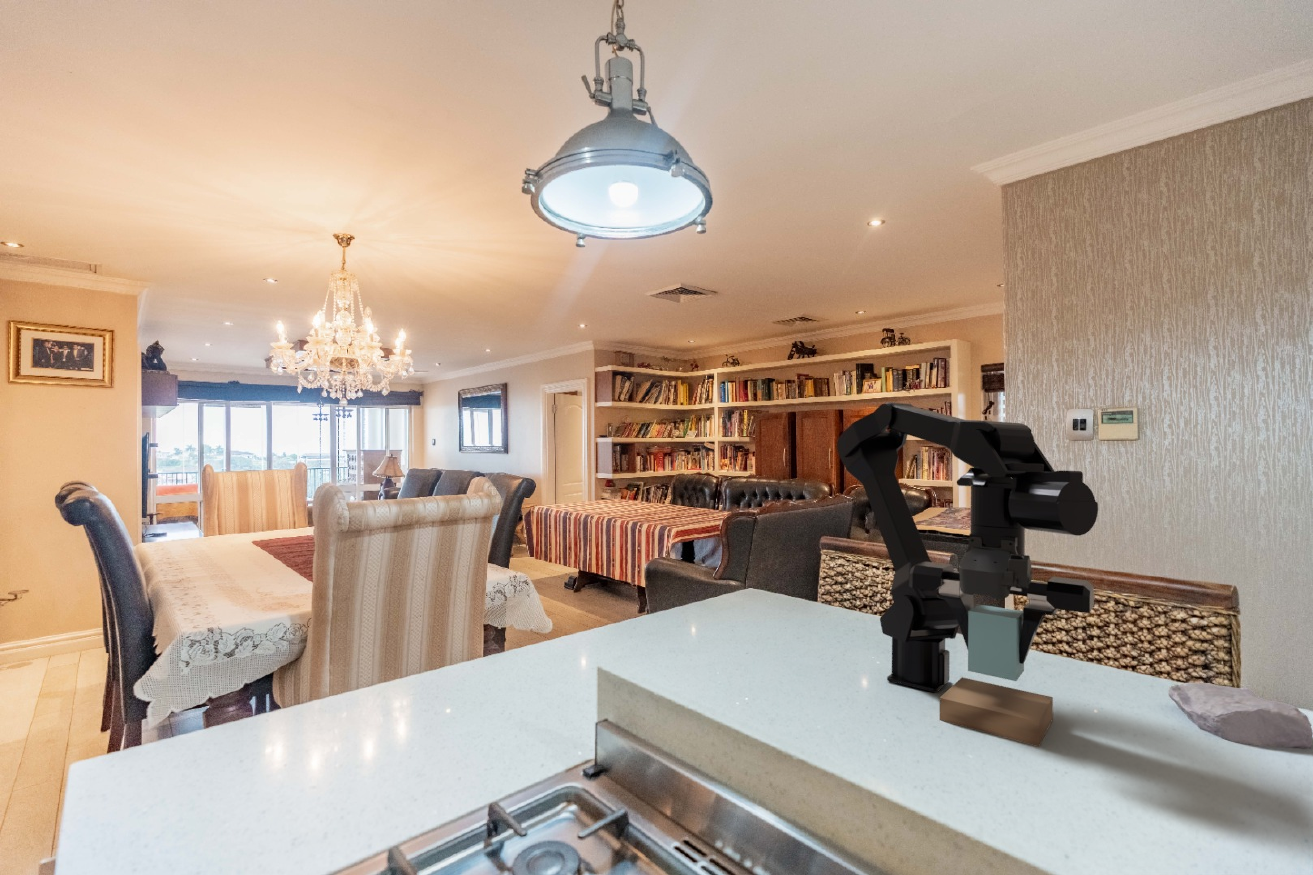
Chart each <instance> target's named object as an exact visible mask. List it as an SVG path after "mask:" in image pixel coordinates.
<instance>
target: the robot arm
mask: <svg viewBox="0 0 1313 875" xmlns="http://www.w3.org/2000/svg"><path fill="white" fill-rule="evenodd" d="M908 436H911V437H914V438H917V439H920V440H923V441H927V442H929V443H933V444H936V445H939V446H942V447H945V448H946V449H948V450H950V451H951V454H952V455H953V456H954V458H956V459H959V460H960V461H961V462H963V463H965V464H967V465H969V466H970V468H968V471H967V472H966V473H965V474H963V475H961V476H960V478H958V479H957V480H956V484H957V486H959V487H960V486H961V487H970V533H969V538H968V546H967V549H966V552H965V553H964V555H963V556H962V558H961V560H960V562H959V564H958V571H955V569H954V565H953V564H950V563H943V562H942V563H940V562H934V561H933V560H931V558H930V556H929V553H928V551H927V549H926V546H925V544H924V541H923V539H922V537H921V534H920V532H919V529H918V527H917V525H916V522H915V520H914V517H913V515H912V512H911V509H910V507H909V505H908V503H907V502H908V501H907V500H906V498H905V496H904V493H903V490H902V489H901V486H900V482H899V481H898V478H897V476H896V469H897V466H898V461H899V454H898V451H900V449H902V448H903V446H905V444H906V443H907V437H908ZM836 449H837V453H838V457H839V458H840V460H841V462H842V464H843V466H844V467H845V469H846V471H847V472H848V473H849V474H850V475H851V476H852V477H854V478H855V479H856V480H857V481H858V482H860V483H861V485H862V486H863V489H864V492H865V495H866V497H867V499H868V502H869V505H870V507H871V510H872V513H873V515H874V518H875V519H874V520H875V521H876V523H877V526H878V530H879V531H880V534H881V538H882V539H883V542H884V545H885V548H886V550H887V553H888V555H889V558H890V561H891V563H892V566H893V569H894V573H893V574H894V575H893V580H892V584H891V587H890V588H891V589H890V593H891V597H892V604H891V605H890V606H889V607H888V608H887V609H886V611H885V612H884V613H883V614H882V615H881V616H880V618H879V621H880V626H881V631H882V632H881V633H882V634H883V635H885V636H888V637H890V638H891V674H889V675H887V677H886V680H887V681H888V682H891V683H896V684H898V685H903V686H908V687H910V688H911V687H912V688H915V689H920V690H924V691H929V692H931V693H932V692H933V693H937V692H939V691H940V690H941V689H942V688H943V687H944V686H945V685H946V684H947V683H949V681H950V657H951V656H950V653H951V652H950V651H949V650H948V649H946V639H950V640H953V639H956V638H957V634H958V631H959V628H960V631H961V635H962V638H963V641H964V644H965V646H966V649H967V650H968V611H969V610H971V609H972V608H974V607H975V606H974V605H975V602H974V601H975V600H974V595H980V596H987V597H991V598H993V599H997V600H1000V599H1002V600H1003V599H1006V598H1008V597H1009V596H1010V595H1013V596H1021V597H1026V600H1027V601H1029V602H1027V603H1026V604H1025V605H1024V606H1023V607H1022V611H1023V625H1022V632H1021V640H1020V647H1019V662H1020V663H1021V664H1024V665H1025V662H1026V660H1027V657H1028V655H1029V651H1030V649H1031V647H1032V644H1033V642H1034V640H1035V637H1036V634H1037V632H1038V629H1039V627H1040V625H1041V624H1042V623H1043V620H1044V619H1045V617H1046V616H1055V615H1056V614H1057V613H1058V611H1059V610H1061V611H1062V610H1063V611H1070V612H1076V613H1084V614H1086V613H1087V614H1089V613H1091V611H1092V610H1093V607H1094V606H1095V590H1094V589H1095V587H1094V585H1093V584H1091V583H1090V581H1089V580H1085V579H1077V578H1069V577H1061V576H1052V577H1050V578H1049V580H1047V582H1041V581H1035V580H1033V579H1032V577H1033V574H1032V573H1033V572H1032V571H1033V570H1032V563H1031V557H1030V555H1026V554H1025V550H1026V549H1025V546H1026V542H1025V540H1026V534H1025V533H1026V529H1027V530H1029V531H1035V532H1037V531H1038V532H1047V533H1053V534H1062V535H1068V536H1069V535H1070V536H1077V537H1078V536H1083V535H1086V534H1087V533H1088V532H1090V531H1091V530H1092V529H1093V527H1094V525H1095V523H1096V522H1097V518H1098V513H1099V504H1098V501H1096V499H1095V495H1094V493H1093V491H1092V490H1091V488H1090V487H1089V485H1087V484H1086V483H1085V482H1084V473H1083V471H1080V470H1056V471H1055V469H1054V467H1052V465H1051V463H1050V462H1049V461H1048V459H1047V458H1046V456H1045V455H1044V453H1043V451H1042V450H1041V449H1040V448H1039V446H1038V444H1037V443H1036V441H1035V437H1034V435H1033V433H1032V429H1031V427H1029V426H1028V425H1026V424H1024V423H1021V422H1012V421H1011V422H1008V421H997V420H996V421H994V420H979V419H978V420H976V419H975V420H973V419H972V420H970V419H964V418H960V417H956V416H953V415H952V416H951V415H948V414H944V413H940V412H936V411H933V410H928V409H924V408H920V407H917V406H914V405H912V404H911V403H905V402H904V403H903V402H902V403H901V402H885V403H882V404H880V405H879V406H878V407H877V408H876V409H875V410H874V411H873V412H870V413H869V414H867V415H865V416H864V417H861V418H859V419H857V420H855V421H853V422H852V423H851V424H850V425H849V426H848V427H847V428H845V430H843V432H842V434H840V436H838V439H837V442H836Z"/></svg>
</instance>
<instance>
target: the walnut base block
mask: <svg viewBox="0 0 1313 875" xmlns="http://www.w3.org/2000/svg"><path fill="white" fill-rule="evenodd" d="M1053 701H1054V700H1053V697H1052V696H1049V695H1044V694H1041V693H1040V694H1039V693H1035V692H1031V691H1027V690H1021V689H1017V688H1013V687H1009V686H1004V685H999V684H994V683H990V682H985V681H981V680H976V679H971V678H966V677H963V676H961V677H960V679H959V680H957V681H956V682H955V683H954V684H953V685H952V686H951V687H949V689H947V690H946V691H945V692H944V693H943V694H942V695H941V696H939V720H938V721H941V722H945V723H950V724H953V725H956V726H959V727H960V726H961V727H965V728H968V729H972V730H975V731H979V732H982V733H987V734H989V735H990V734H991V735H994V736H997V737H1001V738H1006V739H1009V740H1014V741H1016V742H1021V743H1025V744H1028V745H1030V746H1031V745H1032V746H1034V747H1035V746H1036V747H1038V748H1039V747H1040V745H1041V744H1042V742H1043V739H1044V737H1045V735H1046V733H1047V731H1048V729H1049V727H1050V726H1051V723H1052V721H1053V720H1054V717H1053V716H1054V713H1053V712H1054V711H1053V708H1054V706H1053V705H1054V704H1053V703H1054V702H1053Z"/></svg>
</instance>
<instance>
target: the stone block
mask: <svg viewBox="0 0 1313 875" xmlns="http://www.w3.org/2000/svg"><path fill="white" fill-rule="evenodd" d="M1167 695H1168V697H1169V698H1170V700H1172V701H1174V703H1175V705H1176V706H1177V707H1178V708H1179V709H1180V710H1181V711H1182V713H1183V714H1184V715H1186V717H1187V718H1188V719H1189V721H1191V722H1192V723H1193V724H1194V725H1195V726H1197V728H1198V729H1199V730H1201V731H1204V732H1207V733H1209V734H1211V735H1213V736H1215V737H1218V738H1221V739H1223V740H1227V741H1230V742H1233V743H1240V744H1246V745H1254V746H1262V747H1263V746H1264V747H1265V746H1266V747H1267V746H1269V747H1284V748H1291V749H1293V748H1299V749H1307V750H1308V749H1311V748H1312V746H1313V740H1312V739H1313V729H1312V723H1311V722H1310V721H1309V720H1310V719H1309V717H1308V715H1307V714H1305V713H1304V712H1302V711H1301V710H1300V709H1299V708H1298V707H1296V706H1294V705H1291V704H1288V703H1284V702H1281V701H1274V700H1269V699H1264V698H1262V697H1260V696H1258V694H1256V693H1255V692H1254V691H1253V690H1252V689H1251V688H1249V687H1243V686H1242V687H1233V686H1229V685H1228V686H1227V685H1225V686H1223V685H1220V684H1218V685H1217V684H1214V683H1209V682H1207V683H1206V682H1192V681H1190V682H1185V683H1181V684H1174V685H1171V686H1169V688H1168V694H1167Z"/></svg>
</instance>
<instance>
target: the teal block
mask: <svg viewBox="0 0 1313 875" xmlns="http://www.w3.org/2000/svg"><path fill="white" fill-rule="evenodd" d="M1022 625H1023V610H1017V609H1010V608H1005V607H1004V608H1003V607H998V606H991V605H984V604H976V605H975V606H974V608H972V609H971V610H969V611H968V649H967V671H968V672H970V673H971V672H972V673H976V674H977V673H978V674H980V675H985V676H990V677H994V678H999V679H1004V680H1008V681H1013V682H1017V681H1018V680H1019V678H1020V677H1021V676H1022V675H1023V673H1024V672H1025V663H1024V664H1021V663H1020V662H1019V647H1020V640H1021V632H1022Z"/></svg>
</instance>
